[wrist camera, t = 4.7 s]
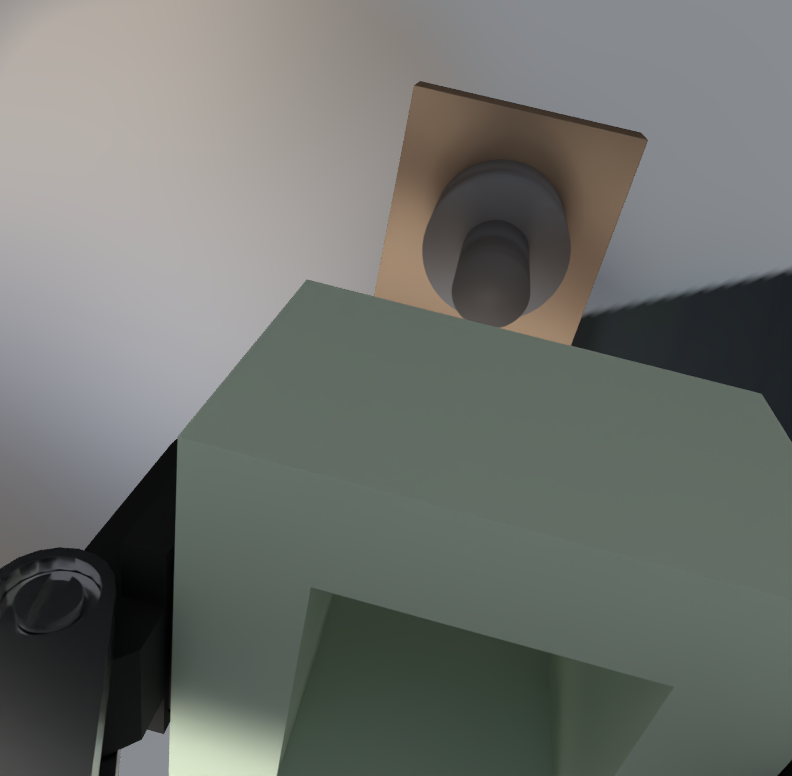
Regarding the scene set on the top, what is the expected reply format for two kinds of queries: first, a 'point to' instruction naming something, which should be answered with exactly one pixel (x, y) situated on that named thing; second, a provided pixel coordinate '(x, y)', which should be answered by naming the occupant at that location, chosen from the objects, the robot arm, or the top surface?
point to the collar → (476, 559)
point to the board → (524, 137)
